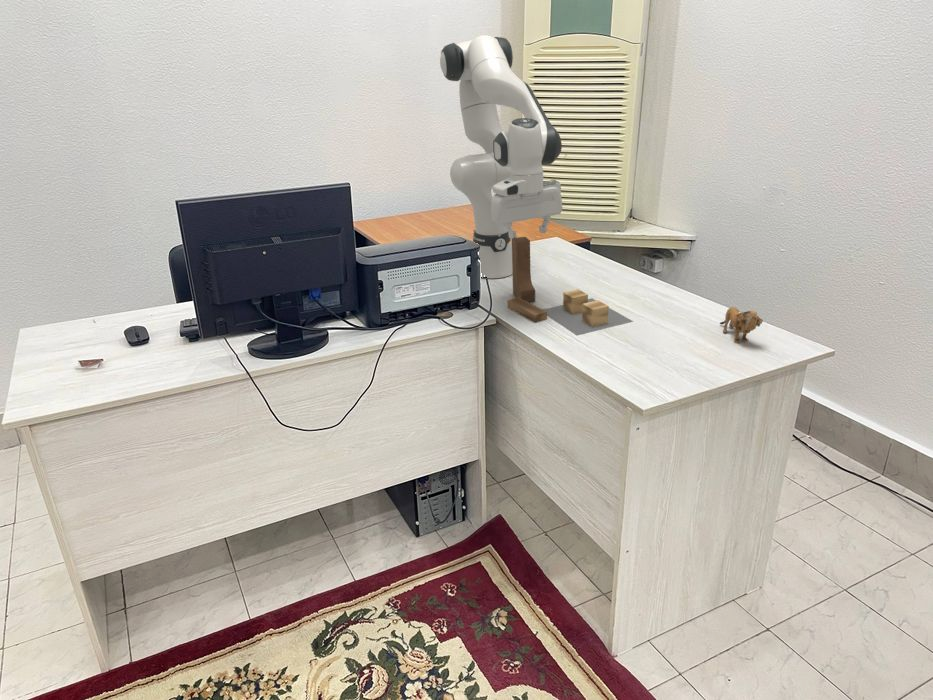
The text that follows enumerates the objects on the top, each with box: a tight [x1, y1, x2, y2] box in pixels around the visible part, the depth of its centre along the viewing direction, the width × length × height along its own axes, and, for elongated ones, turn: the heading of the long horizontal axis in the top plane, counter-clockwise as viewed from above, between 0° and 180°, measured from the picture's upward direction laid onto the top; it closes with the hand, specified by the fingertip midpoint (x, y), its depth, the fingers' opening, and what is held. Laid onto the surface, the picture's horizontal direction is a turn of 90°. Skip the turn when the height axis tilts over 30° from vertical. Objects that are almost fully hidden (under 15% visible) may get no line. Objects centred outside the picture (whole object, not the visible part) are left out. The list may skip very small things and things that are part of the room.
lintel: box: [506, 297, 548, 324], centre depth 193 cm, size 4×14×3 cm, turn 30°
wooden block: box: [511, 236, 536, 304], centre depth 201 cm, size 9×4×18 cm, turn 12°
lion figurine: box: [719, 306, 764, 344], centre depth 172 cm, size 15×5×9 cm, turn 14°
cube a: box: [562, 288, 589, 315], centre depth 193 cm, size 5×5×5 cm
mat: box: [543, 297, 634, 336], centre depth 190 cm, size 20×18×1 cm
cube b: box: [582, 299, 610, 327], centre depth 185 cm, size 5×5×5 cm
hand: (527, 235), depth 184 cm, fingers open, 8 cm apart
